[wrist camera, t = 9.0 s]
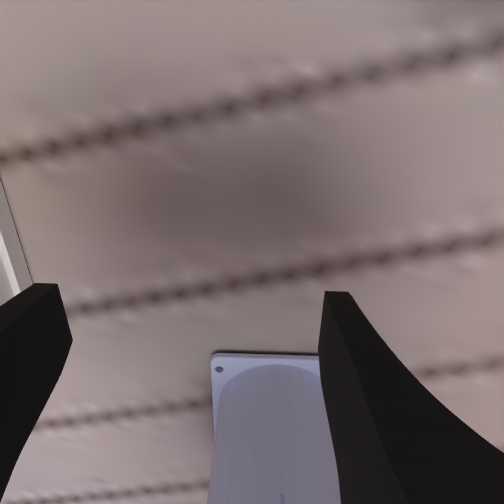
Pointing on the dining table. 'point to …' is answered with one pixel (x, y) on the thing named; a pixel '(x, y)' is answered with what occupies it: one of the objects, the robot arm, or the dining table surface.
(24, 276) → the ledge
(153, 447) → the dining table surface
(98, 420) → the dining table surface
